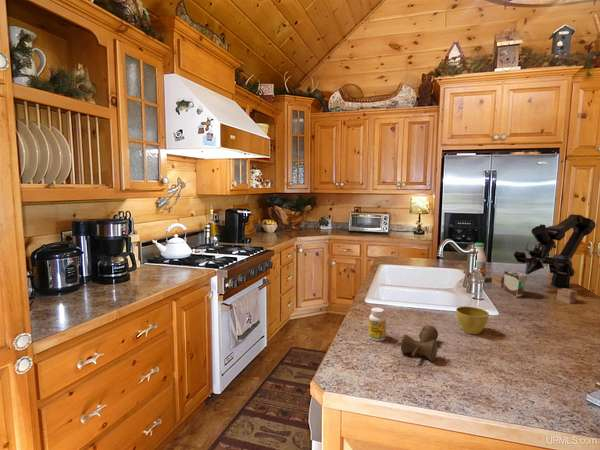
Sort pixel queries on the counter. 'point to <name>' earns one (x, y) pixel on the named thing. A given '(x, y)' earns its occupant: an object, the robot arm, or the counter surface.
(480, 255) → the milk bottle
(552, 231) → the robot arm
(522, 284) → the food container
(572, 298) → the walnut cube seven
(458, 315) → the olive yellow bowl
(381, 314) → the supplement bottle
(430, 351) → the kendama
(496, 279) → the walnut cube one
